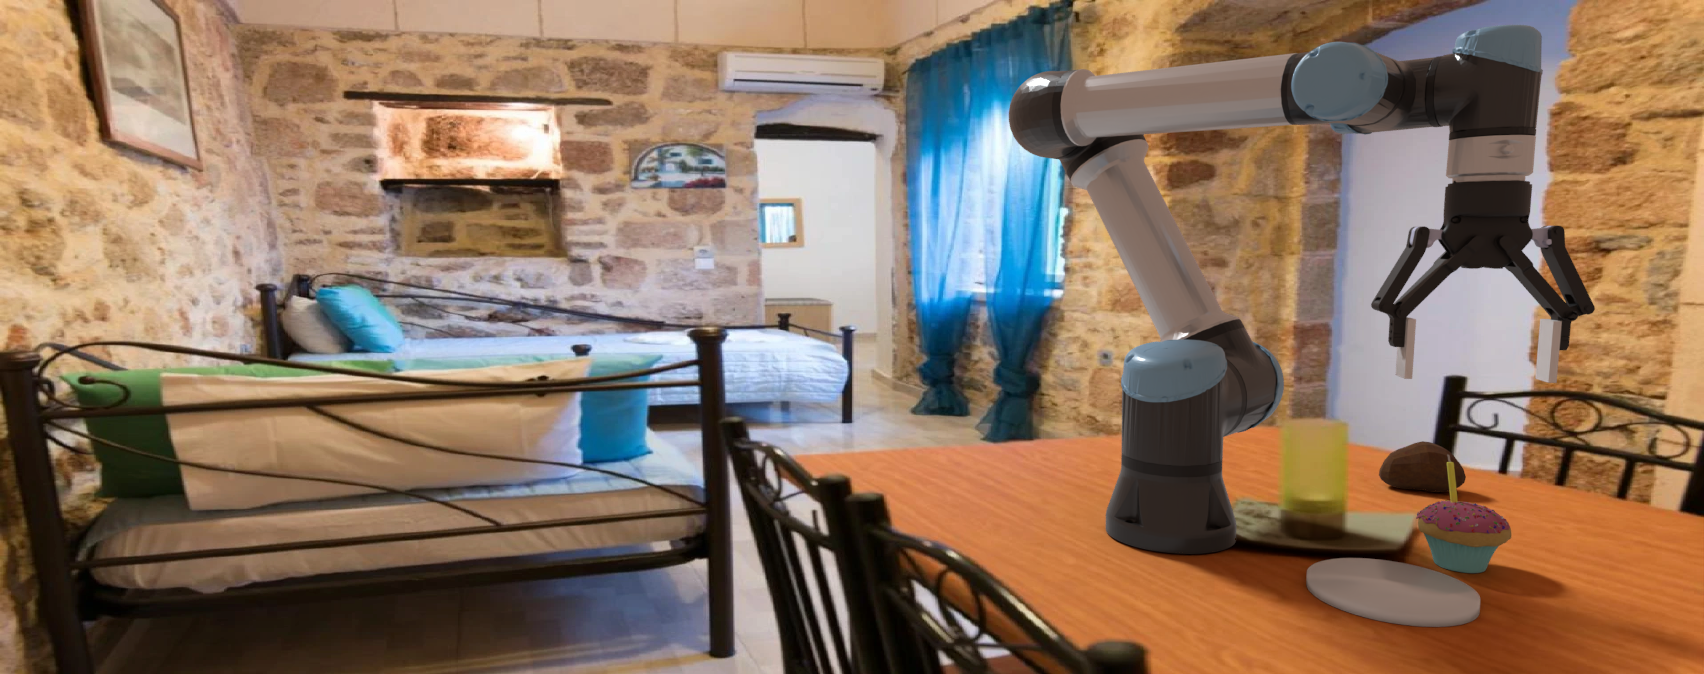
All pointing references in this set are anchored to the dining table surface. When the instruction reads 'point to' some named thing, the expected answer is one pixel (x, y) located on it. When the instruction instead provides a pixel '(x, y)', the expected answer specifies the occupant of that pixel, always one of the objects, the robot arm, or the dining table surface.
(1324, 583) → the plate
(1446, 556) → the cupcake
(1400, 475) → the potato
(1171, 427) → the robot arm
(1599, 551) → the dining table surface
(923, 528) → the dining table surface
